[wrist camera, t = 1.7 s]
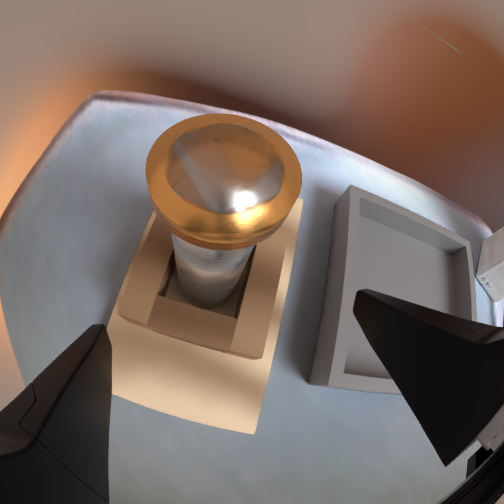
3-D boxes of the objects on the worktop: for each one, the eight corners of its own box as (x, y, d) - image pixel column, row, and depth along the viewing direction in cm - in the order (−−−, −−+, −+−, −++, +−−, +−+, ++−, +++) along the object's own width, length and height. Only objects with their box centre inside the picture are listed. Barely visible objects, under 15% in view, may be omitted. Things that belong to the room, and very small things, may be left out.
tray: (448, 395, 21) (472, 393, 18) (308, 384, 20) (328, 385, 17) (450, 253, 28) (469, 241, 25) (334, 204, 27) (350, 184, 24)
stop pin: (232, 326, 20) (289, 255, 8) (162, 305, 19) (118, 205, 8) (248, 261, 22) (308, 137, 10) (184, 242, 22) (182, 102, 10)
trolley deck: (251, 431, 18) (264, 444, 14) (95, 383, 17) (74, 385, 13) (299, 205, 26) (315, 180, 23) (178, 169, 25) (177, 139, 22)
